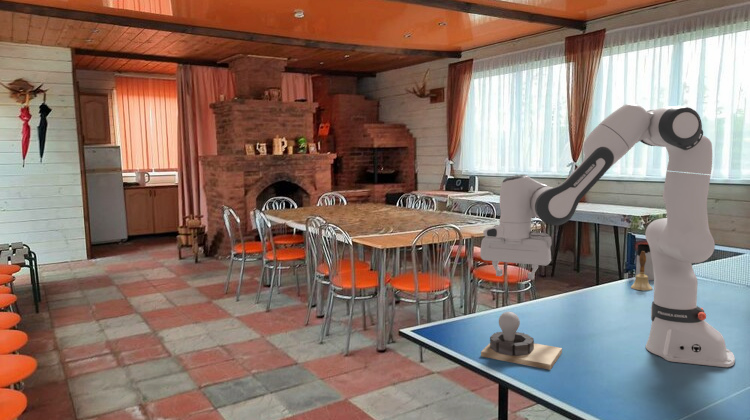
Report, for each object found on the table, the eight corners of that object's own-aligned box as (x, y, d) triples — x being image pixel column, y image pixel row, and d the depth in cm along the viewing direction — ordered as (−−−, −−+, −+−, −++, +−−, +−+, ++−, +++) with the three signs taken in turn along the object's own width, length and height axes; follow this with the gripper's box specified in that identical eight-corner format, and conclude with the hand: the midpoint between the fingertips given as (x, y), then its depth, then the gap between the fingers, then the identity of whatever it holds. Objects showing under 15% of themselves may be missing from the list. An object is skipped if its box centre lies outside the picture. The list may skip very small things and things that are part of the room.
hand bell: (628, 285, 234) (629, 249, 232) (648, 285, 233) (649, 249, 231) (634, 290, 226) (635, 253, 224) (655, 291, 225) (657, 253, 223)
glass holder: (638, 279, 244) (639, 247, 242) (628, 272, 257) (630, 241, 256) (659, 280, 242) (660, 247, 240) (648, 273, 256) (649, 241, 254)
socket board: (561, 352, 160) (562, 338, 160) (550, 369, 148) (550, 354, 148) (496, 341, 171) (496, 327, 170) (480, 356, 159) (481, 341, 158)
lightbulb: (507, 353, 157) (508, 316, 156) (494, 346, 162) (494, 311, 161) (523, 349, 160) (524, 313, 158) (509, 342, 165) (510, 307, 164)
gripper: (554, 231, 154) (553, 278, 156) (485, 227, 165) (485, 271, 166) (548, 234, 149) (548, 283, 151) (478, 230, 160) (478, 276, 161)
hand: (514, 277), depth 159 cm, fingers open, 8 cm apart
